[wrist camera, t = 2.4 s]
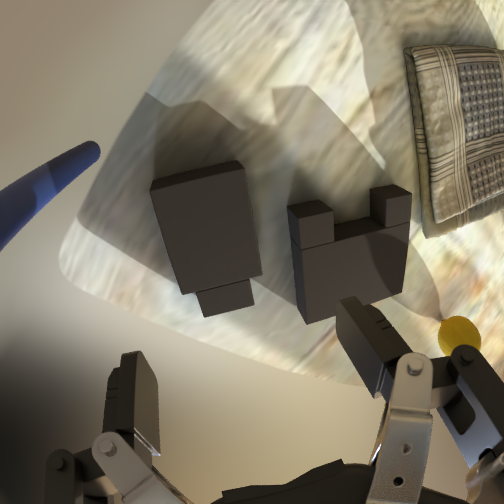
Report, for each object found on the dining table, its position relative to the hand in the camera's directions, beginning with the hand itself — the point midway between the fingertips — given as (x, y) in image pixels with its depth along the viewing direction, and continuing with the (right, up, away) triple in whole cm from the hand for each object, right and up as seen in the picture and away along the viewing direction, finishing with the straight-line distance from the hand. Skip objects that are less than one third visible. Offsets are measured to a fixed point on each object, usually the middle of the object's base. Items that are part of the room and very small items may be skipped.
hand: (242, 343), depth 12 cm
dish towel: (+22, +16, +12) cm, 30 cm away
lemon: (+26, -6, +24) cm, 36 cm away
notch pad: (+8, +4, +14) cm, 17 cm away
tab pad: (-3, +5, +11) cm, 12 cm away
